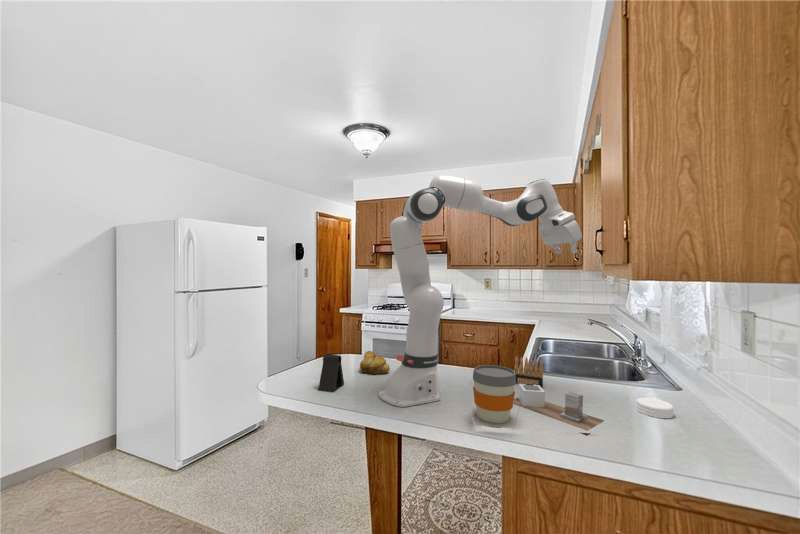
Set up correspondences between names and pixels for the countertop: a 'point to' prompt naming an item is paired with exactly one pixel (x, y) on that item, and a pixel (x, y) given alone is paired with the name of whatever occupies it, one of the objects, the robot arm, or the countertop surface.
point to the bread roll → (373, 364)
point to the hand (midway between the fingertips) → (567, 253)
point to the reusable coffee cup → (494, 392)
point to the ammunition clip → (531, 378)
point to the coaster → (654, 407)
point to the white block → (531, 395)
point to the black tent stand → (331, 373)
